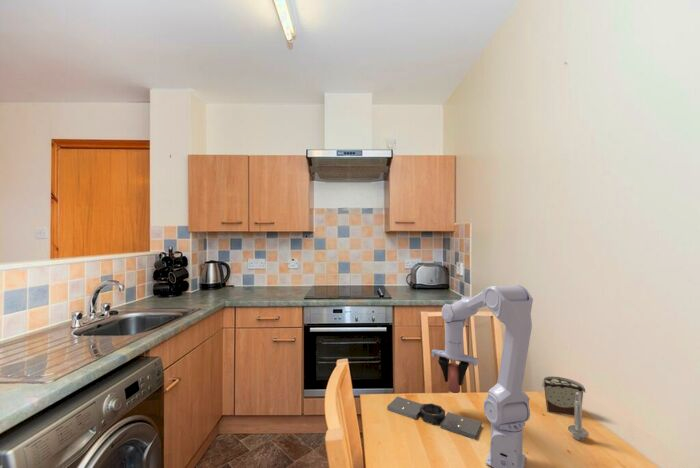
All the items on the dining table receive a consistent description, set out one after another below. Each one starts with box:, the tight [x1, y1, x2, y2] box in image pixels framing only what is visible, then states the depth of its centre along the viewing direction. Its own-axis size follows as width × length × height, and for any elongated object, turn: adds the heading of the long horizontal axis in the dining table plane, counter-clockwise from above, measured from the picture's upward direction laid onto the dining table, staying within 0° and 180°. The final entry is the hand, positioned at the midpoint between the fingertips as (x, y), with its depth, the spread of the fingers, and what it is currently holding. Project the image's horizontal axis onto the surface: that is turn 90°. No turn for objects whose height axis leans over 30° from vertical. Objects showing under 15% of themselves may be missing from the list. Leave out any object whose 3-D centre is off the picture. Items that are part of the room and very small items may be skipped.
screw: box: [567, 392, 590, 442], centre depth 89 cm, size 13×5×5 cm
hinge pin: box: [446, 362, 461, 394], centre depth 102 cm, size 4×4×8 cm
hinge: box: [386, 396, 482, 440], centre depth 98 cm, size 8×28×2 cm, turn 57°
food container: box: [541, 376, 586, 417], centre depth 104 cm, size 12×6×10 cm, turn 74°
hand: (453, 382), depth 102 cm, fingers closed on hinge pin, 4 cm apart
